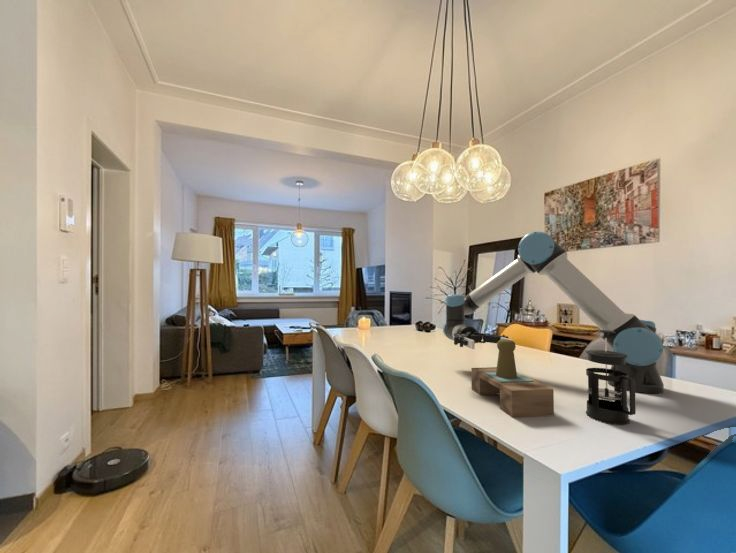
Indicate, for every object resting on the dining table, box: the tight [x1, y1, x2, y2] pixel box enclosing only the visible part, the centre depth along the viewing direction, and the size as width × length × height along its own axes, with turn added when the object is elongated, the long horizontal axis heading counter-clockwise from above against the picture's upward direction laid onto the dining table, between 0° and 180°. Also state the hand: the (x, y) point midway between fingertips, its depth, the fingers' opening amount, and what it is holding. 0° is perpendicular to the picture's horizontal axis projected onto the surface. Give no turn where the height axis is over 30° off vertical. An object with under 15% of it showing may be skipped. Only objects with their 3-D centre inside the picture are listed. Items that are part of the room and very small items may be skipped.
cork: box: [496, 338, 518, 379], centre depth 99 cm, size 6×6×11 cm
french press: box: [585, 329, 637, 426], centre depth 86 cm, size 12×9×23 cm
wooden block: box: [470, 366, 555, 418], centre depth 99 cm, size 24×12×7 cm, turn 8°
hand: (493, 344), depth 107 cm, fingers open, 13 cm apart
